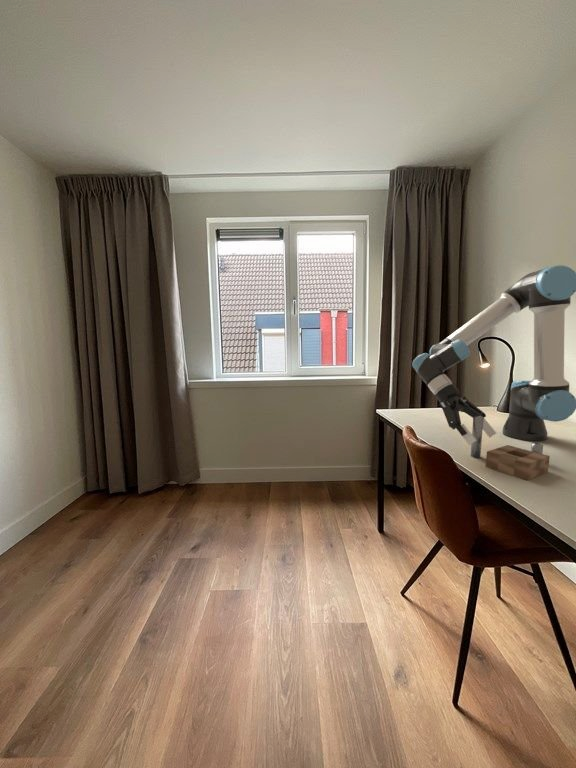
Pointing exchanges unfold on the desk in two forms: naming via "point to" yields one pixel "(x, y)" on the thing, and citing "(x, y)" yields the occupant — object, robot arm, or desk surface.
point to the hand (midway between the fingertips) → (483, 439)
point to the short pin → (537, 448)
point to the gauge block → (517, 462)
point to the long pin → (477, 436)
